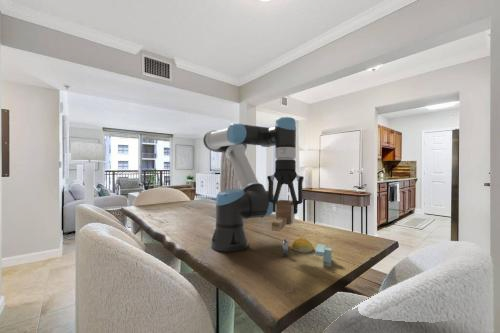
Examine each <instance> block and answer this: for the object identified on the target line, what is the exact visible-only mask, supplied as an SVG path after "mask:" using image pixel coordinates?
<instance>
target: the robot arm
mask: <svg viewBox="0 0 500 333" xmlns="http://www.w3.org/2000/svg"><path fill="white" fill-rule="evenodd" d="M274 124H275V125H273V126H272V127H268V126H258V125H252V124H250V125H249V124H243V123H230V124H229V126H227V128H225V129H222V130H221V129H220V130H213V129H212V130H210V131H207V132H206V133H205V134H204V135H203V140H202V141H203V145H204V147H205V148H206V149H208V150H209V151H211V152H215V153H224V155H225V157H226V158H227V159H229V160H230V163H231V166H232V168H233V171H234V173H235V176H236V178H237V181H238V183H239V185H240V186H239V187H240V188H232V189H231V188H230V189H225V190H222V191H219V192H218V193H217V194H216V201H215V228H214V232H213V235H212V238H211V240H210V243H211V244H210V245H211V246H210V247H211V249H213V250H215V251H218V252H224V253H230V252H233V253H234V252H239V251H243V250H245V249H246V248H248V237H247V234H246V231H245V230H246V229H245V228H244V224H245V222H244V221H245V220H248V219H258V218H263V219H264V218H265V217H269V216H271V215H272V214H273V213H274V216H275V219H274V221H275V220H276V201H279V198H280V194H281V190H282V187H283V185H287V186H288V189H289V194H290V196H291V197H290V198H291V201H293V205H291V223H292V224H294V223H295V219H296V218H295V215H297V214H298V210H299V209H298V205H301V204H302V203H303V195H304V194H303V182H304V176H301V175H298V174H297V171H296V168H297V167H296V162H297V160H296V159H297V157H296V153H297V150H296V144H297V141H296V140H297V125H296V124H297V122H296V119H295V118H293V117H288V116H286V117H285V116H284V117H283V116H282V117H278V118H276V120H275V123H274ZM248 145H253V146H260V147H262V148H266V147H267V148H269V147H274V146H275V154H274V156H275V159H276V160H275V162H274V165H275V167H274V168H275V169H274V170H275V171H274V173H273V174H272V175H268V176H266V178H267V181H268V189H267V190H266V188H265V186H264V184H262V183H259V181H258V179H257V177H256V175H255V173H254V170H253V168H252V165H251V164H250V162H249V159H248V157H247V155H246V151H247V147H248ZM275 180H276V181H277V183H276V188H275V192H274V181H275ZM295 180H296V181H297V194H296V191H295V186H294V181H295Z"/></svg>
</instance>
